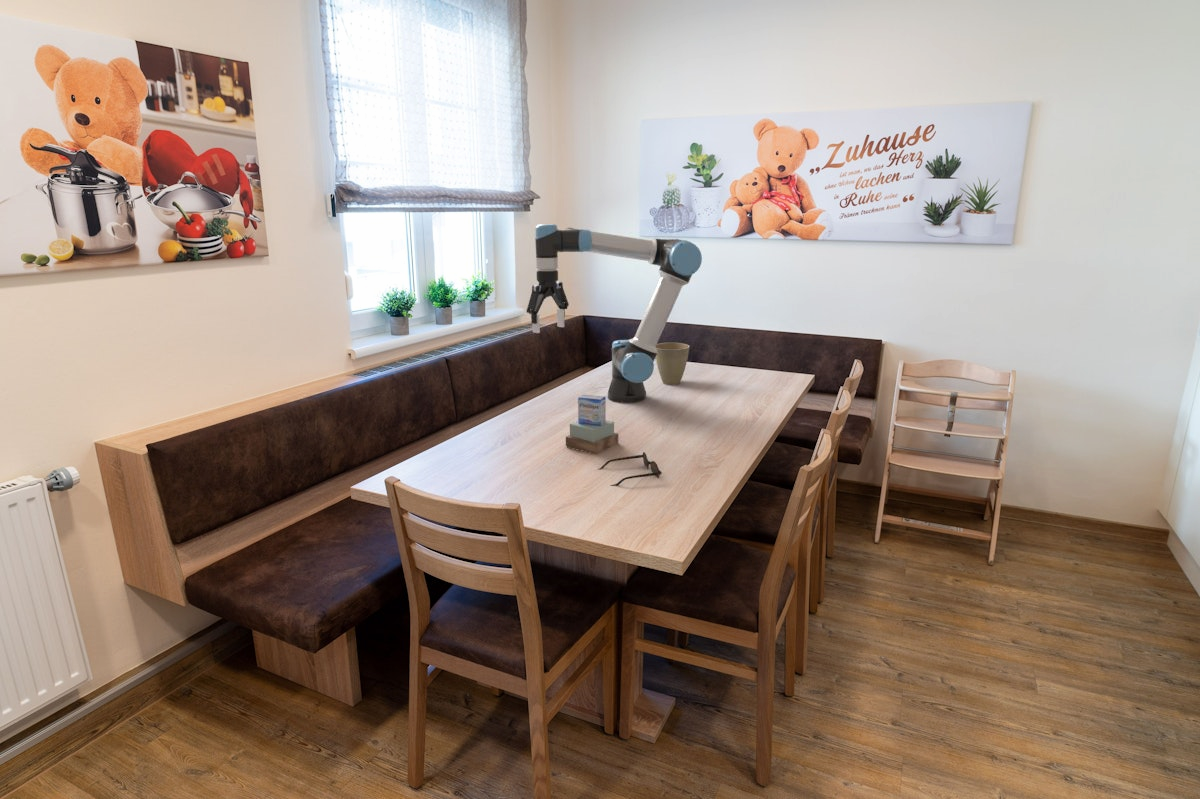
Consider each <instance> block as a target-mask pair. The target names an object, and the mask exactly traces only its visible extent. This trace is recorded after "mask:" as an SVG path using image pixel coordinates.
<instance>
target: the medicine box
mask: <svg viewBox="0 0 1200 799" xmlns="http://www.w3.org/2000/svg"><path fill="white" fill-rule="evenodd" d="M606 399H607V398H606V396H605V395H604V396H603V395H602V396H601V395H592V394H591V395H590V394H581V395H580V396H578V398H577V418H578V419H577V421H578V423H579V424H588V425H599V426H601V425H602V424H604V423H605V422H606V420H607V418H606V417H607V416H606V413H607V412H606V411H607V410H606V408H607V407H606V402H607V400H606Z"/></svg>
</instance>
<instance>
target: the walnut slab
mask: <svg viewBox="0 0 1200 799" xmlns="http://www.w3.org/2000/svg"><path fill="white" fill-rule="evenodd" d="M616 444H617V445H618V444H619V433H617V432H614V434H613V435H611V436H608V437H606V438H603V439H601V440H599V441H596V442H591V441H587V440H583V439H580V438H576V437H572V436H570V434H569V435H567V436H565V447H566V446H567V447H566V448H568V447H570V448H569V449H572V448H574V449H573V450H576V449H578V450H577V451H580V450H583V451H582V452H584V451H586V452H585V453H588V452H591V453H590V454H593V453H594V454H593V455H598V454H600V453H602V452H604V451H606V449H607V450H608V448H609V449H610V447H611V448H613V447H614V445H615V446H617V445H616ZM612 446H613V447H612Z"/></svg>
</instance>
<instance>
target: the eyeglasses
mask: <svg viewBox="0 0 1200 799" xmlns="http://www.w3.org/2000/svg"><path fill="white" fill-rule="evenodd" d="M640 458H642V459H643V464H644V467H645V468H646V470H649V467H650V470H651V472H649V473H643V474H636V475H631V476H627V477H624V478H622V479H620V480H619V481H618V482H617V483H614V484H610V485H609V486H610V487H611V486H613V487H615V486H619V485H620V484H622V483H623V482H624V481H625V480H629V479H638V478H645V477H652V476H655V477H656V478H657V479H660V476H661V475H662V471H661V470H660V469H659V467H658V464H657V462H656V461H653V460H651V461H650V460H648V456H647V454H646V452H644V451H643V452H642V454H637V455H631V456H625V457H616V458H614V459H613V458H612V459H610V460H607V461H606V462H605V463H604V464H602V466H601V467H600V468H598V469H597V471H600V470H602V469H604V468H605V467H606V466H607V465H608V464H609V463H611V462H616V461H617V462H618V461H624V460H625V461H626V460H633V459H640ZM599 469H600V470H599Z"/></svg>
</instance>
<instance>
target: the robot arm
mask: <svg viewBox="0 0 1200 799" xmlns="http://www.w3.org/2000/svg"><path fill="white" fill-rule="evenodd" d="M534 235H535V237H534V238H535V241H534V242H535V258H536V260H535V262H536V269H537V270H536V281H537V282H538V285H536V284H533V285H532V287H531V294H530V298H529V300H528V303H527V308H526V314H529V315H530V317H531V318H530V320H531V324H532V325H531V326H532V328H531V329H532V333H534V334H535V333H536V334H540V333H541V332H540V331H541V330H540V328H541V326H540V314H539V311H540V309H541V307H542V305H543V303H544V302H545V299H547V298H549V297H551V298H552V300H553V301H554V303H555V304H556V306H557V308H556V319H557V320H556V321H557V324H556V325H557V328H558V327H559V328H565V317H566V316H565V315H566V312H565V310H567V309H568V307H569V306H570V305H569V304H570V303H569V301H568V298H567V295H566V292H565V289H564V286H563V284H564V283H563V281H559V270H557V269H558V268H559V256H558V253H579V252H580V253H585V252H587V253H593V254H599V255H606V256H613V257H620V258H626V259H632V260H638V261H639V260H640V261H646V262H648V263H649V264H650V265H654V266H658V267H659V269H658V273H659V276H660V278H659V280H658V282H657V285H656V286H655V289H654V292H653V294H652V296H651V298H650V301H649V303H648V305H647V307H646V310H645V312H644V314H643V317H642V319H641V322H640V324H639V326H638V327H637V330H636V333H635V334H634V337H633V338H629V339H617V340H614V341H613V342H612V344H611V346H612V347H611V367H612V368H611V371H612V372H611V375H612V376H611V381H610V385H609V387H608V391H607V398H608V399H609V401H612V402H617V403H625V404H626V403H638V402H643V401H645V400H646V398H647V391H646V388H645V385H644V382H646V381H647V380H649V378H651V377H652V375H653V372H654V370H655V363H654V362H655V360H656V358H655V357H656V355H657V350H656V345H657V344H658V342H659V340H660V338H661V335H662V333H663V331H664V329H665V326H666V324H667V322H668V319H669V317H670V315H671V314H672V311H673V309H674V306H675V304H676V301H677V299H678V297H679V295H680V293H681V291H682V288H683V287H684V286H686V285H688V284H689V283H690V280H691V279H692V277H693V275H694V274H695V273H696V272H698V271H699V269H700V267H701V266H702V262H703V261H702V259H703V257H702V252H701V250H700V248H699V247H698V246H697V245H696V244H695V243H693V242H691V241H688V240H683V239H679V238H675V239H673V238H669V239H666V238H665V239H664V238H663V239H661V238H655V237H654V238H652V239H651V240H650V239H643V238H637V237H631V236H630V237H629V236H624V235H616V234H611V233H603V232H597V231H591V230H590V229H578V228H573V227H566V228H564V229H558V226H557V224H555V223H553V224H551V223H550V224H548V223H545V224H536V226H535V234H534Z"/></svg>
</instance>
